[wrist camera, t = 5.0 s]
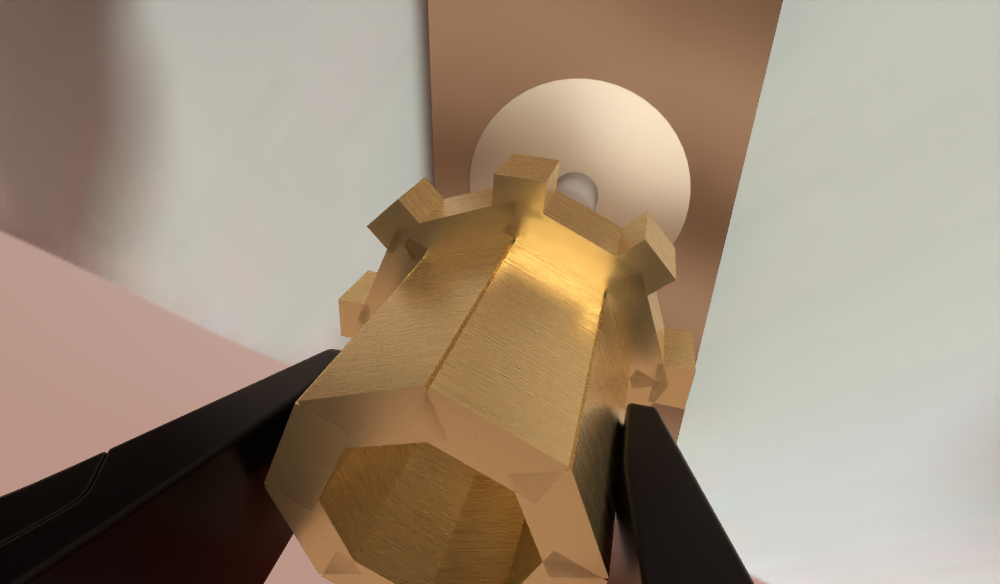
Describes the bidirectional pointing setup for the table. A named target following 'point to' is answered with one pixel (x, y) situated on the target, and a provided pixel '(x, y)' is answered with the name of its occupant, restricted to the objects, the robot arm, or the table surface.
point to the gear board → (609, 114)
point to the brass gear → (483, 390)
